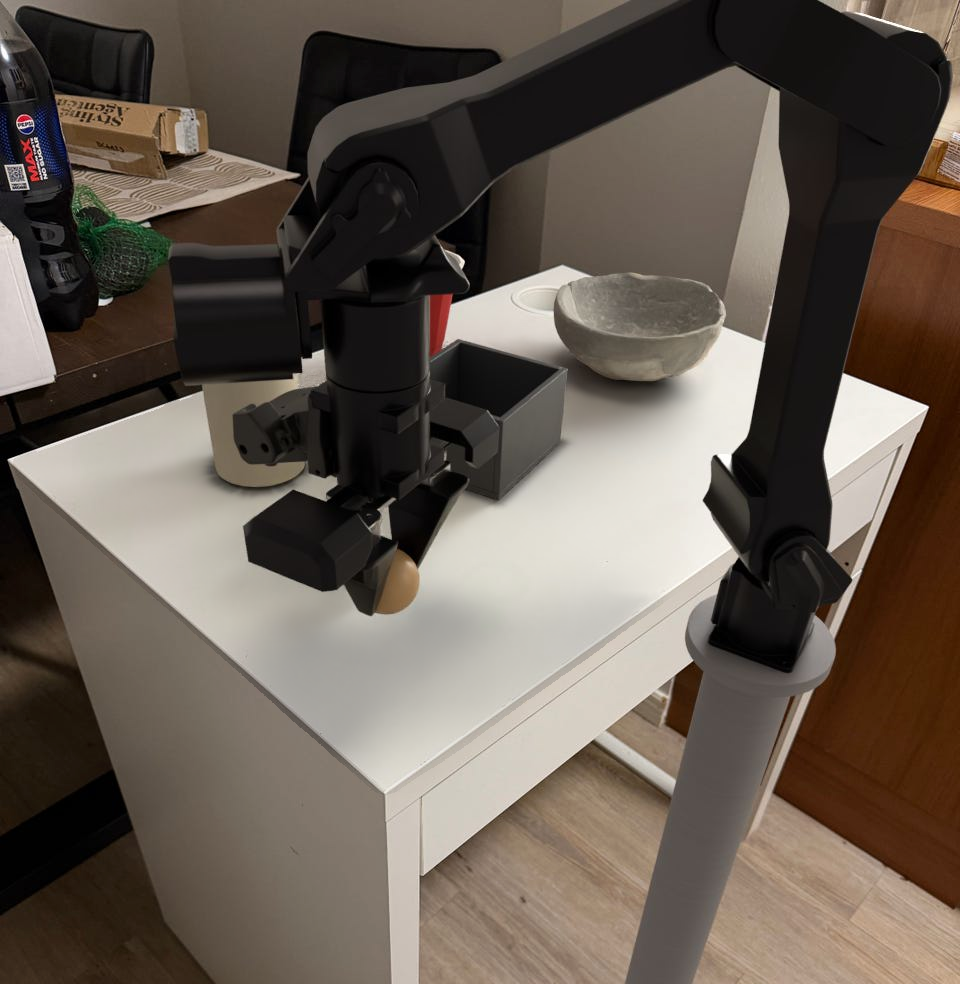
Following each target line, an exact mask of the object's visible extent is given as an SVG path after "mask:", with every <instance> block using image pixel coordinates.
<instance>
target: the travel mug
mask: <svg viewBox="0 0 960 984" xmlns="http://www.w3.org/2000/svg"><path fill="white" fill-rule="evenodd" d="M298 379H299V378H298V373H296V374H293V379H289V380H272V381H256V382H240V383H223V384H207V385H201V388H202V389H201V390H202V395H203V401H204V407H205V412H206V420H207V425H208V431H209V437H210V442H211V443H210V444H211V448H212V453H213V454H212V455H213V460H214V466H215V467H214V468H215V471H216V473H217V475H218V476H219V477H220V478H221V479H222V480H224V481H226V482H228V483H231V484H233V485H237V486H241V487H249V488H250V487H252V488H262V487H263V488H264V487H271V486H275V485H279V484H282V483H285V482H288V481H290V480H292V479H293V478H295V477H297V476H299V474H300V473H301V472H302V471H303V470H304V469H305V466H306V461H305V462H288V463H278V464H277V465H276V466H266V465H265V464H258V465H250V464H248V463H246V462H245V461H244V460H243V459H242V458H241V456H240V454H239V451H238V449H237V447H236V444H235V442H234V436H233V416H232V414H234V413H236V412H237V411H239V410H241V409H242V408H244V407H246V406H248V405H249V404H255V405H256V407H257V406H259V405H261V404H263V403H265V402H270V401H271V400H273V399H275V398H276V397H278V396H280V395H282V394H284V393H286V392H288V391H291V390H295V389H299V380H298Z"/></svg>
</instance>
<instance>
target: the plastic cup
mask: <svg viewBox="0 0 960 984" xmlns="http://www.w3.org/2000/svg"><path fill="white" fill-rule="evenodd" d="M444 250H445V251H446V252H447V253H448V254H450V255H451V256H452V257H454V258H455V259H456V260H457V262H458V263H459V265H460V267H461V269H462V270H463V268H464V265H465V260H464V258H462V257H461V256H460V255H459V254H457V253H454V252H452V251H449V250H446V249H444ZM453 295H454V294H447V295H430V357H431V356H433V355H434V354H436V353H437V352H439V351H440V350H442V349H443V346H444V342H445V339H446V333H447V328H448V322H449V317H450V311H451V306H452V301H453Z"/></svg>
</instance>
